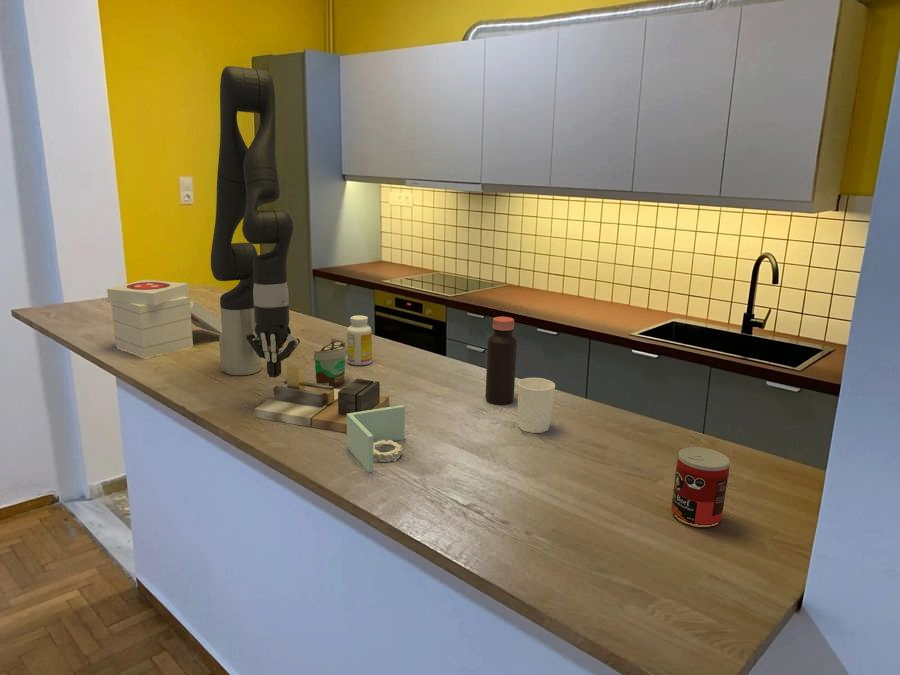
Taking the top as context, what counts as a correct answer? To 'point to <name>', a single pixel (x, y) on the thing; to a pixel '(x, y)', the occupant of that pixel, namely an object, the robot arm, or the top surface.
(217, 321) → the pizza boxes
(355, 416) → the l-shaped corner panel
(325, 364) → the food container
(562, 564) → the top surface
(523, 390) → the white cup
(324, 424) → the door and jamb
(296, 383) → the wooden t-shaped block
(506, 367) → the vinegar
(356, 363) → the supplement bottle
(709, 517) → the canned food
